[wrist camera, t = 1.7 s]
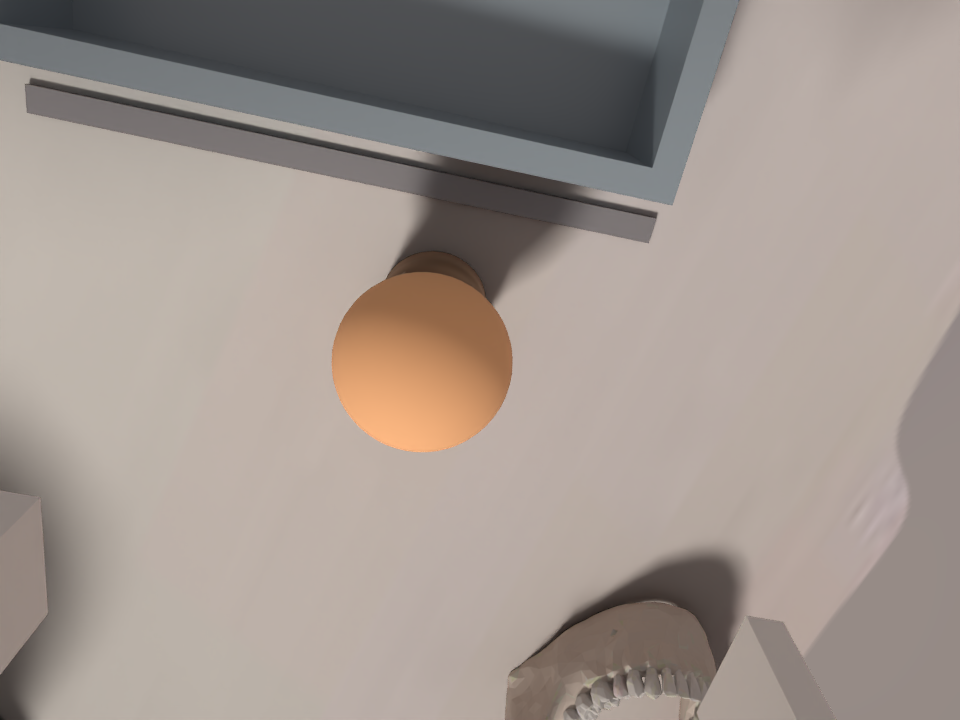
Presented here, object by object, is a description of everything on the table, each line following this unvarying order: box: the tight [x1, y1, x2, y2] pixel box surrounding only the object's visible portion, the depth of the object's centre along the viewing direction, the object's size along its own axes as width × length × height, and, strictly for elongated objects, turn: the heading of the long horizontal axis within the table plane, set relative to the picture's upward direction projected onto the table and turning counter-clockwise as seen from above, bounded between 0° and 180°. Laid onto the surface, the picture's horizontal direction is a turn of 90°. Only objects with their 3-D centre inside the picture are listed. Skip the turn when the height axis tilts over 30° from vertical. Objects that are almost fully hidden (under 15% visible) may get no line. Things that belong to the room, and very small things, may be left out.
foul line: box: [25, 84, 656, 243], centre depth 25 cm, size 24×1×1 cm, turn 78°
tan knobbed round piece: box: [386, 251, 486, 298], centre depth 26 cm, size 4×4×3 cm
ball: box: [332, 272, 512, 452], centre depth 22 cm, size 6×6×6 cm
